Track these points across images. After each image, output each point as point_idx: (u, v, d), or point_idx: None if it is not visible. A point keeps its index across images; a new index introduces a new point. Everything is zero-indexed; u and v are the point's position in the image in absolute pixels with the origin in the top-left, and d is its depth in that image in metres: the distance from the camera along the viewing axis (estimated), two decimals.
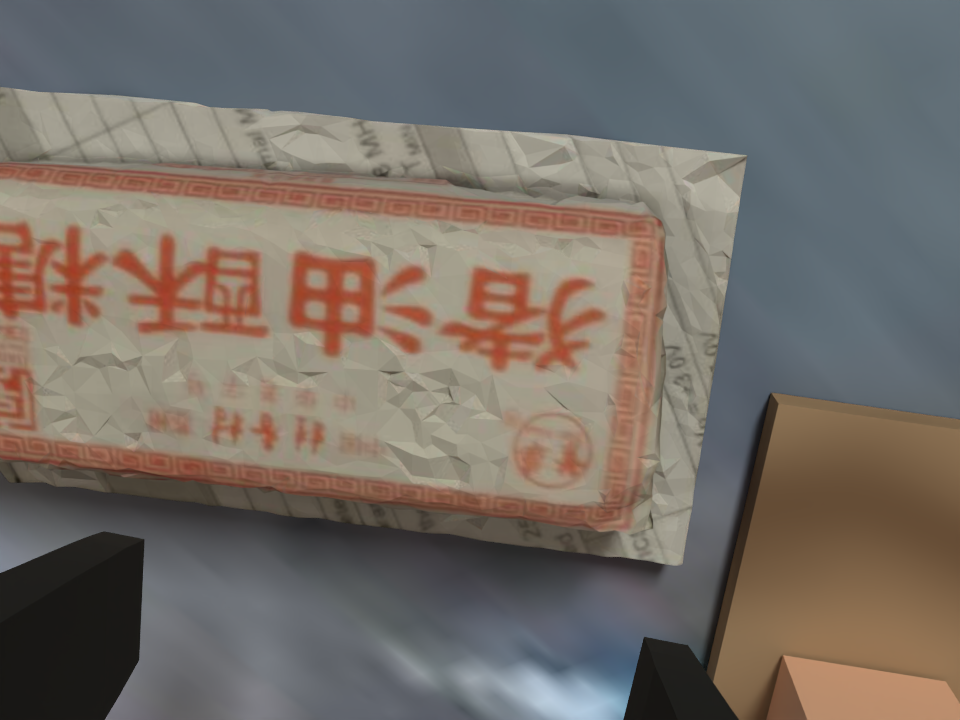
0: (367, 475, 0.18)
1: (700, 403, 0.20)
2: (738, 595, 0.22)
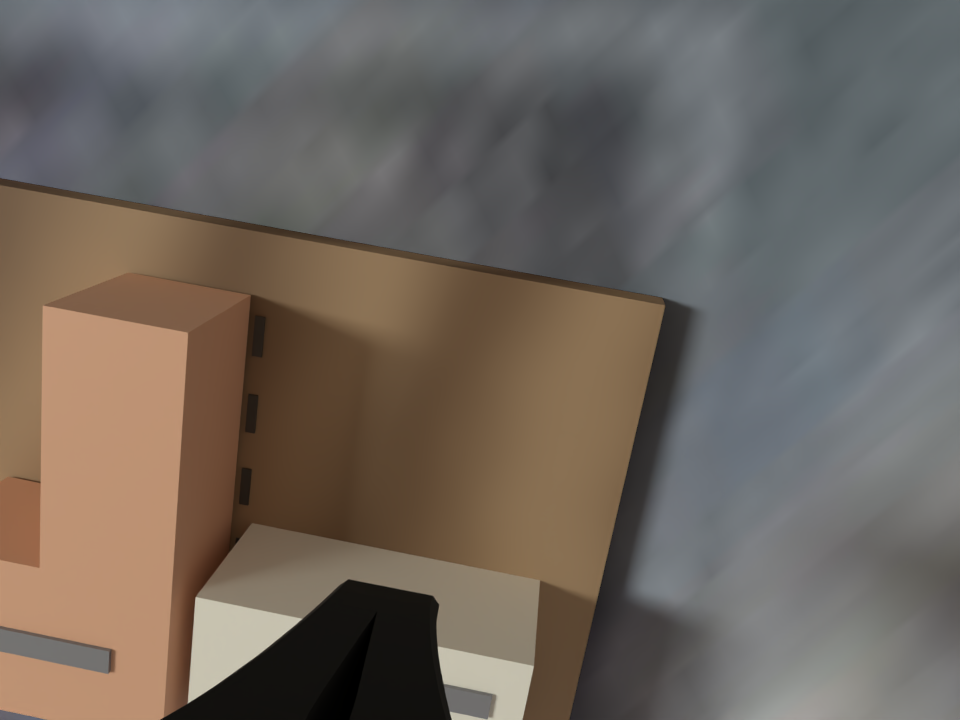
0: None
1: None
2: None
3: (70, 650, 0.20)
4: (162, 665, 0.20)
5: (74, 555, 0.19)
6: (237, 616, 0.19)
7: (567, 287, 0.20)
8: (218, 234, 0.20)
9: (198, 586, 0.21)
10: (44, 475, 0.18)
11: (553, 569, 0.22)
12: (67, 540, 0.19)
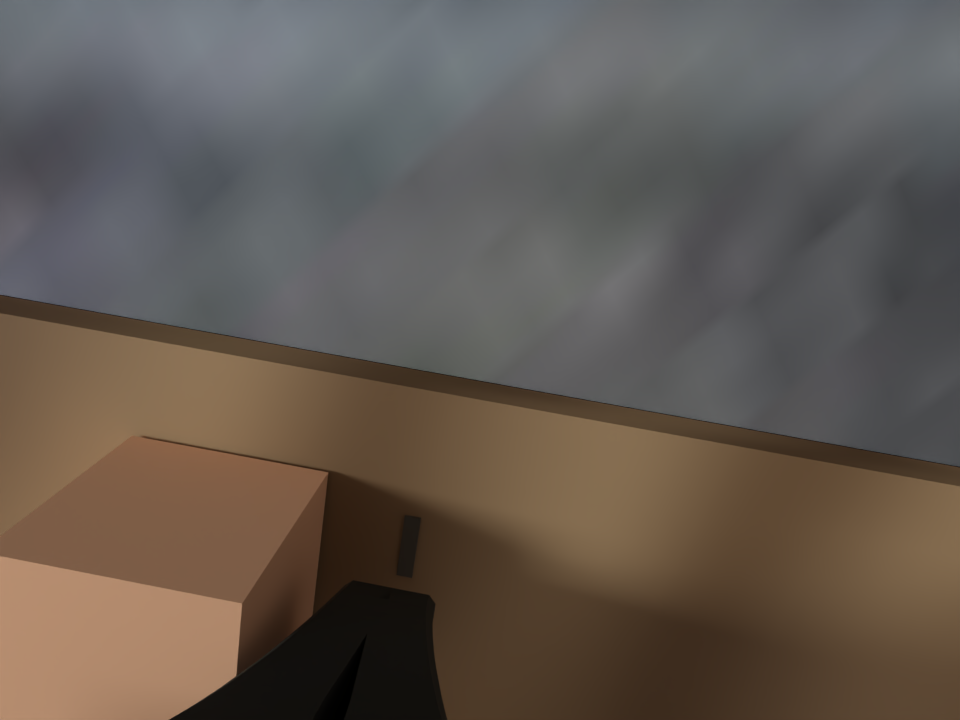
0: None
1: None
2: None
3: None
4: None
5: None
6: None
7: (928, 480, 0.12)
8: (349, 391, 0.13)
9: None
10: None
11: None
12: None
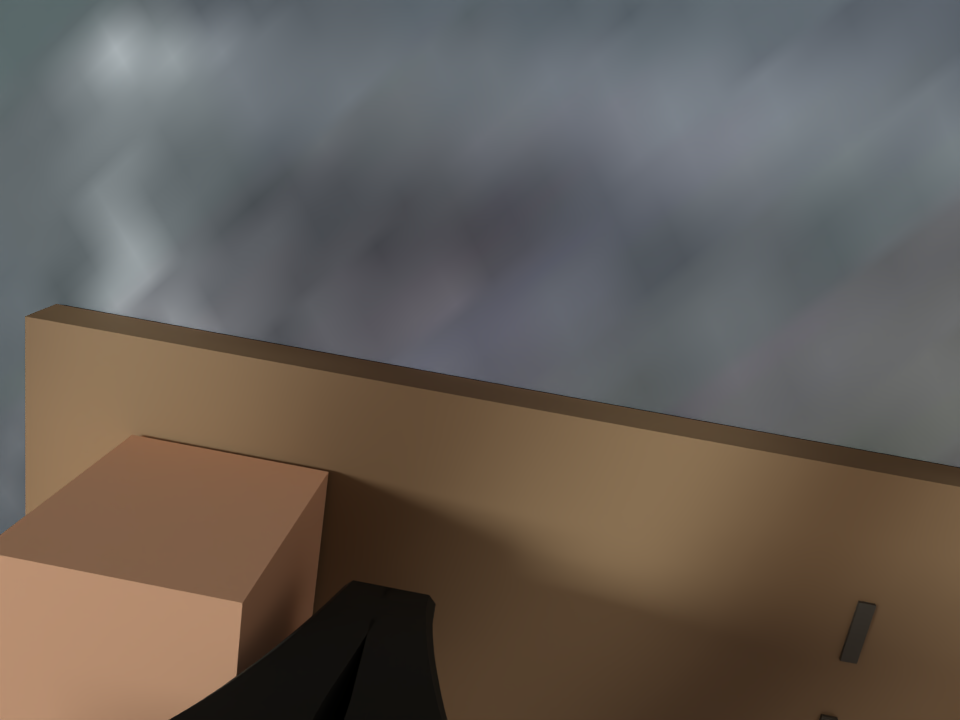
0: None
1: None
2: None
3: None
4: None
5: None
6: None
7: None
8: (818, 477, 0.12)
9: None
10: None
11: None
12: None
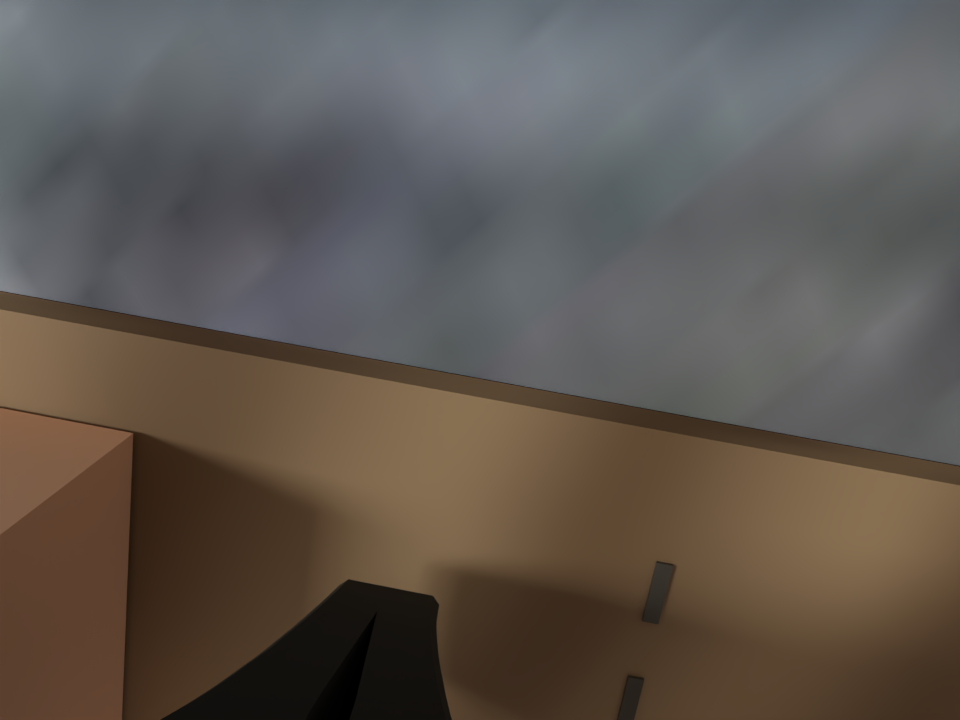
0: None
1: None
2: None
3: None
4: None
5: None
6: None
7: None
8: (609, 436, 0.12)
9: None
10: None
11: None
12: None
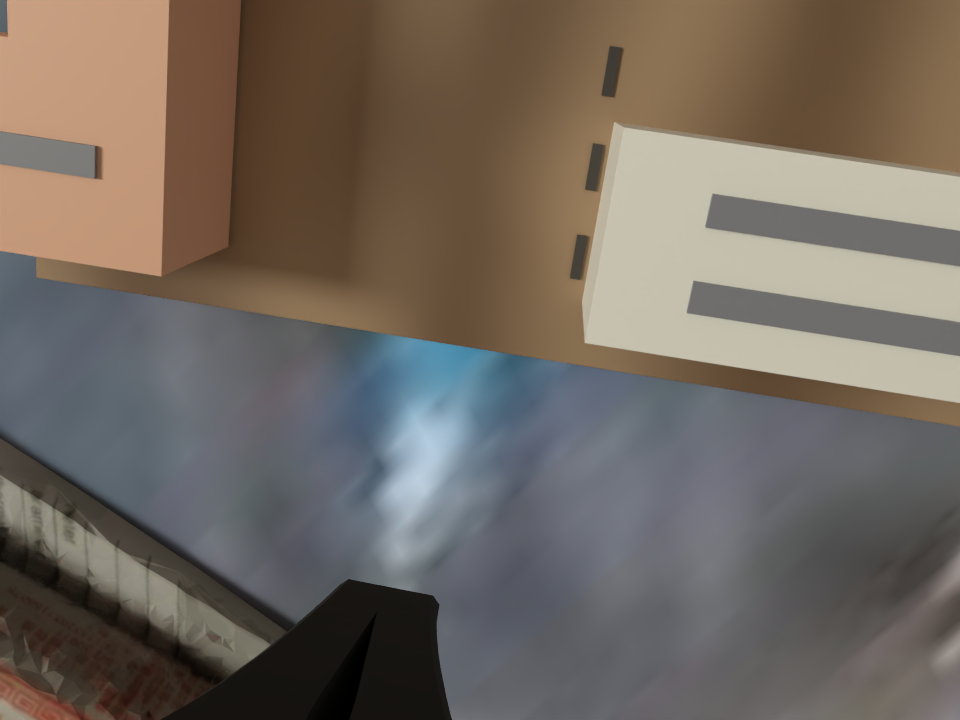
0: None
1: None
2: (243, 305, 0.21)
3: (47, 149, 0.16)
4: (159, 164, 0.16)
5: (49, 14, 0.16)
6: (675, 151, 0.15)
7: None
8: None
9: (199, 101, 0.17)
10: None
11: None
12: None
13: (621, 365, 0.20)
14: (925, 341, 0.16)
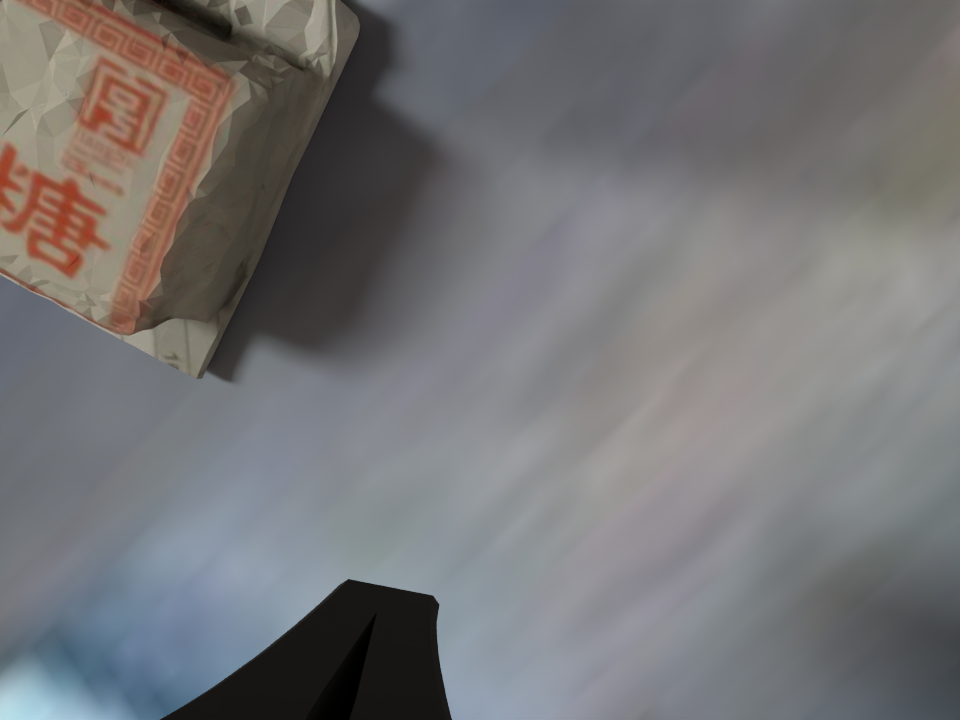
0: None
1: None
2: None
3: None
4: None
5: None
6: None
7: None
8: None
9: None
10: None
11: None
12: None
13: None
14: None
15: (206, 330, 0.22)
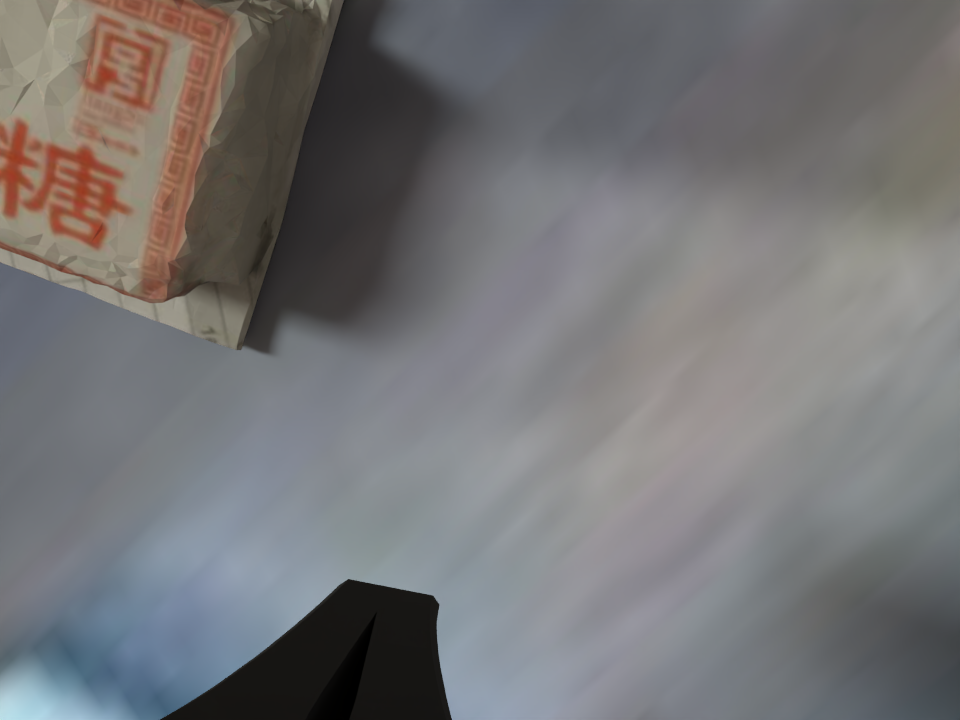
0: None
1: None
2: None
3: None
4: None
5: None
6: None
7: None
8: None
9: None
10: None
11: None
12: None
13: None
14: None
15: (239, 298, 0.21)
